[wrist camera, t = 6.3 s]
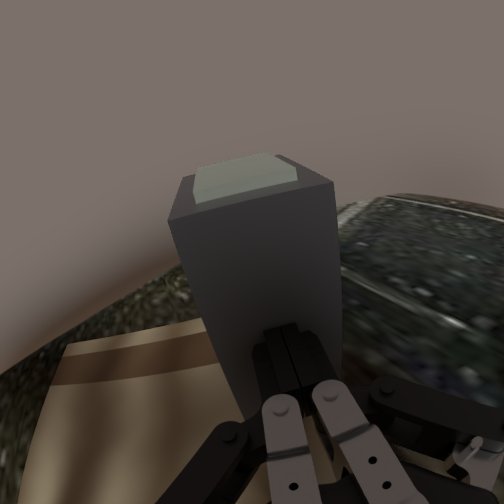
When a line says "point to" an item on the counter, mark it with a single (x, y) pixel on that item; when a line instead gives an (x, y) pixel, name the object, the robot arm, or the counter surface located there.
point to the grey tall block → (259, 259)
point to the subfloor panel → (136, 420)
